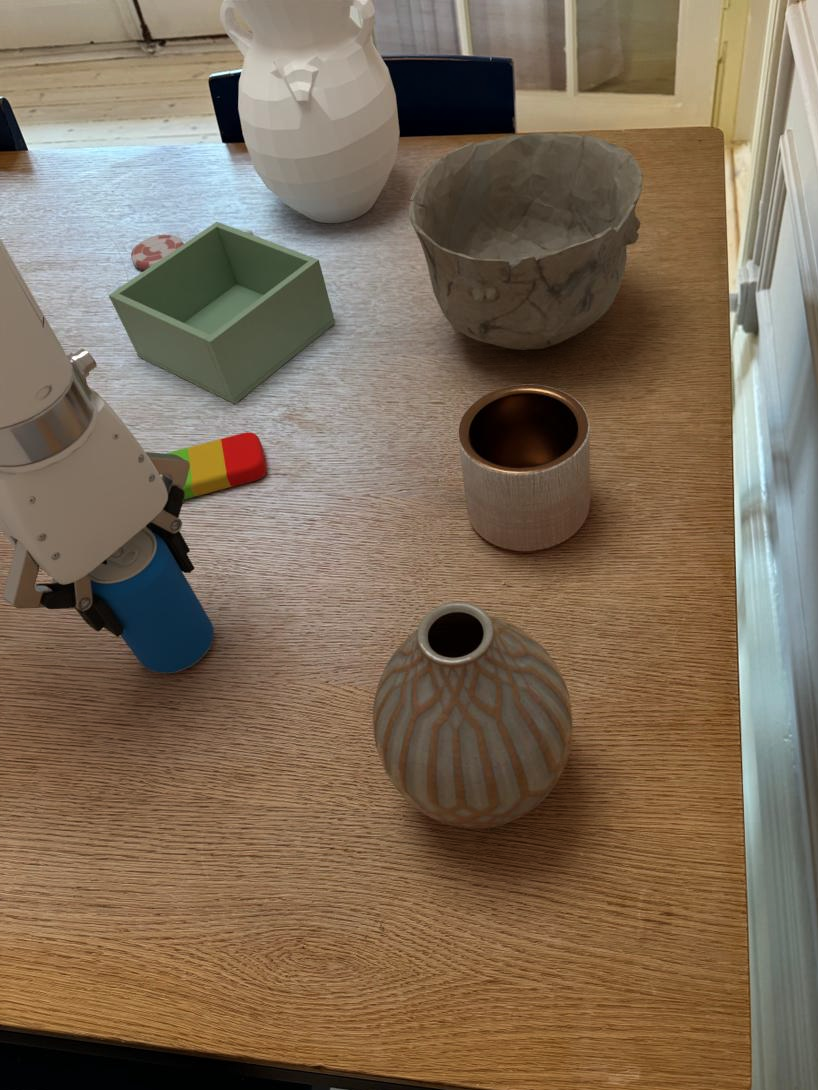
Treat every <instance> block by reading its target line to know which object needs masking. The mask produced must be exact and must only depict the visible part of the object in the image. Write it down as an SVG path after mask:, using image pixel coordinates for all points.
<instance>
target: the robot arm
mask: <svg viewBox="0 0 818 1090" xmlns="http://www.w3.org/2000/svg"><path fill="white" fill-rule="evenodd" d="M97 366H98V364H97V362H96V360H95V358H94V357H93V356H92V355H91V353H90V352H89V351H88V350H87V349H84V348H80V349H79V350H77V351H76V352H75V353H72V352H71V353H69V354H67V353H66V351H65V350H64V347H63V346H62V344H61V342H60V341H59V339H58V337H57V335H56V333H55V332H54V331H53V329H52V327H51V325H50V323H49V321H48V319H47V318H46V316H45V313H44V312H43V310H42V309H41V308H40V305H39V304H38V302H37V300H36V299H35V297H34V295H33V293H32V291H31V289H30V288H29V286H28V284H27V283H26V281H25V279H24V277H23V276H22V273H21V272H20V270H19V269H18V267H17V265H16V263H15V261H14V260H13V258H12V256H11V254H10V253H9V251H8V249H7V247H6V245H5V244H4V242H3V240H2V238H1V237H0V530H1V532H2V533H3V535H4V536H5V538H6V539H7V540H8V542H9V543H10V545H11V547H13V549H14V550H13V554H12V559H11V562H10V566H9V569H8V574H7V578H6V582H5V585H4V589H3V593H2V597H3V600H4V601H6V603H8V604H10V605H11V606H12V607H14V608H15V609H21V610H22V609H40V608H46V609H48V610H64V609H75V611H76V612H77V614H78V615H79V616H80V617H81V618H82V619H83V621H84V623H86V624H87V625H88V626H89V627H90V628H91V629H93V630H94V631H96V632H97V633H98V632H100V631H101V630H103V628H104V629H105V630H107V632H109V633H110V634H112V635H114V636H115V637H117V638H119V637H121V636H120V635H121V634H122V633H123V630H124V628H123V627H122V626H121V624H120V623H119V621H118V620H117V619H116V617H115V616H114V614H113V613H112V612H111V610H110V609H109V608H108V606H107V605H106V603H105V602H104V601H103V600H102V599H101V598H99V597H98V596H96V595H95V594H94V593H92V587H91V578H90V572H91V571H92V570H93V569H95V568H96V567H97V566H98V565H100V564H101V563H102V562H103V561H104V560H106V559H107V558H108V557H109V556H111V555H112V554H113V553H114V552H115V551H116V550H118V549H119V548H120V547H121V546H122V545H124V544H125V543H126V542H127V541H128V540H130V539H131V538H132V537H133V536H134V535H135V534H137V533H138V532H139V531H140V530H141V529H142V528H144V527H147V528H148V529H149V530H150V531H151V532H153V533H155V534H157V535H158V536H160V537H161V538H162V539H163V540H164V542H165V543H166V545H167V546H168V548H169V550H170V552H171V553H172V555H173V557H174V558H175V560H176V562H177V564H178V565H179V567H180V569H181V571H182V572H183V574H188V573H189V574H191V573H192V572H193V571H194V570H195V566H194V565H193V562H192V561H191V559H190V557H189V556H188V553H190V552H191V549H190V548H189V546H188V544H187V542H186V541H185V539H184V537H183V534H182V533H181V531H180V530H181V529H182V527H183V521H182V520H181V519H180V518H179V517H180V514H181V511H182V507H183V503H184V500H185V499H184V496H185V493H184V490H183V486H185V484H186V480H187V476H188V472H189V468H190V464H189V462H188V461H187V460H185V459H183V458H181V457H179V456H178V455H175V454H166V453H163V452H161V453H160V452H151V451H145V450H144V448H143V446H142V445H141V443H140V442H139V441H138V439H137V438H136V437H135V435H134V434H133V432H132V431H131V430H130V429H129V428H128V426H127V425H126V424H125V422H124V421H123V420H122V418H121V417H120V416H119V415H118V414H117V413H116V412H115V410H114V409H113V407H112V406H111V405H109V403H108V402H107V401H106V400H105V399H104V398H103V397H102V396H101V395H100V394H99V393H98V392H97V391H95V390H94V389H92V388H91V387H89V385H88V381H87V377H89V376H90V373H91V372H92V371H94V369H96V368H98V367H97ZM161 476H162V478H161ZM40 568H41V569H42V571H44V572H45V573H46V574H47V575H48V576H50V577H51V578H52V582H45V583H44V582H43V583H37V578H38V575H39V571H40ZM36 583H37V584H36Z"/></svg>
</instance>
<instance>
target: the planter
mask: <svg viewBox="0 0 818 1090" xmlns="http://www.w3.org/2000/svg"><path fill="white" fill-rule="evenodd" d="M590 425H591V423H590V418H589V415H588V413H587V411H586V409H585V408H584V406H583V405H582V404H581V403H580V401H578V400H577V399H576V398H575V397H573V396H572V395H570V394H569V393H567V392H565V391H563V390H560V389H558V388H555V387H551V386H547V385H542V384H534V383H533V384H529V383H528V384H515V385H509V386H505V387H501V388H498V389H495V390H493V391H490V392H488V393H486V394H484V395H483V396H481V397H479V398H477V399H476V400H475V401H473V402H472V403H471V404H470V405H469V406H468V407H467V409H465V411H464V412H463V413H462V415H461V418H460V419H459V421H458V425H457V431H456V433H457V434H456V435H457V444H458V451H459V459H460V465H461V474H462V482H463V489H464V497H465V498H464V499H465V506H466V512H467V516H468V519H469V522H470V523H471V526H472V528H473V529H474V531H475V532H476V533H477V534H478V535H479V536H480V537H481V538H482V539H484V540H485V541H487V542H488V543H489V544H492V545H494V546H496V547H499V548H501V549H503V550H504V549H505V550H509V551H515V552H535V551H542V550H546V549H550V548H553V547H555V546H558V545H560V544H562V543H564V542H566V541H568V540H569V539H570V538H571V537H573V536H574V535H575V534H577V532H578V531H579V530H580V529H581V528H582V526H583V525H584V523H585V522H586V520H587V518H588V514H589V511H590V506H591V467H590V466H591V452H590V451H591V426H590Z"/></svg>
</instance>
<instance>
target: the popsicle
mask: <svg viewBox="0 0 818 1090" xmlns="http://www.w3.org/2000/svg"><path fill="white" fill-rule="evenodd" d="M165 454H175V455H178V456H179V457H181V458H183V459H185V460H187V461H188V462H189V464H190V468H189V472H188V476H187V480H186V484H185V486H183V490H184V493H185V496H184V500H188V499H191V498H195V497H199V496H203V495H206V494H211V493H214V492H217V491H222V490H224V489H229V488H232V487H236V486H241V485H243V484H247V483H251V482H254V481H257V480H260V479H262V478H263V477H264V476H266V474H267V462H266V457H265V452H264V448H263V445H262V442H261V440H260V437H259V436H258V435H257V434H256V433H254V432H251V431H250V432H242V433H237V434H235V435H230V436H227V437H222V438H219V439H216V440H212V441H208V442H204V443H200V444H197V445H193V446H189V447H185V448H181V449H177V450H174V451H170V452H166V453H165ZM160 476H161V478H162V475H160Z"/></svg>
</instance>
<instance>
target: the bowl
mask: <svg viewBox="0 0 818 1090" xmlns="http://www.w3.org/2000/svg"><path fill="white" fill-rule="evenodd" d="M643 178H644V177H643V172H642V169H641V167H640V165H639V163H638V161H637V160H636V159H635V156H634V155H633V154H632V153H631V152H630V151H629V150H627V149H626V148H624V147H623V146H618V145H616V144H614V143H611V142H609V141H607V140H604V139H603V138H599V137H596V136H594V135H591V134H588V133H587V134H586V133H585V134H584V135H583V134H577V133H573V132H572V133H571V132H570V133H569V132H560V133H554V132H553V133H552V132H535V133H530V134H513V135H507V136H503V137H498V138H496V139H488V140H484V141H481V142H478V143H476V142H472V143H468V144H466V145H463V146H461V147H458V148H455V149H453V150H452V151H449V153H448V154H446V155H445V156H444V157H443V156H441V157H440V158H438V159H437V160H436V161H434V162H432V163H431V164H430V165H429V168H426V169H425V171H424V172H423V173H422V174H421V175H420V177H419V179H417V181H416V184H415V187H414V189H413V191H412V193H411V195H410V198H409V201H410V202H409V206H408V217H409V221H410V223H411V225H412V227H413V230H414V232H415V234H416V236H417V238H418V240H419V243H420V244H421V248H422V251H423V253H424V257H425V261H426V266H427V269H428V275H429V279H430V282H431V286H432V291H433V294H434V297H435V300H436V302H437V304H438V306H439V308H440V311H441V312H442V314H443V316H444V317H445V319H446V320H447V321H448V323H449V324H450V325H451V326H452V327H453V328H454V329H455V330H457V331H459V332H460V333H461V334H463V335H465V336H467V337H469V338H470V339H473V340H476V341H479V342H483V343H486V344H491V345H493V346H498V347H502V348H505V349H506V348H507V349H512V350H521V351H524V350H538V349H539V350H540V349H544V348H548V347H551V346H554V345H558V344H560V343H562V342H564V341H566V340H568V339H570V338H572V337H574V336H577V335H578V334H580V333H582V332H583V331H584V330H586V329H588V328H589V327H590V326H591V325H593V324H594V323H595V322H597V321H598V320H599V319H600V318H601V317H602V316H603V315H604V314H606V313H607V311H608V310H609V309H610V307H611V306H612V304H613V303H614V301H615V299H616V296H617V294H618V292H619V290H620V288H621V285H622V282H623V278H624V274H625V271H626V264H627V260H628V259H627V257H628V256H627V248H628V247H627V246H629V245H634V244H636V243H637V241H638V240H639V237H640V236H639V235H640V234H639V232H638V231H639V229H640V228H641V223H642V222H641V221H640V220H639V219H638V217H637V216H636V207H637V204H638V202H639V199H640V197H641V194H642V191H643V189H642V187H643V180H644V179H643Z"/></svg>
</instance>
